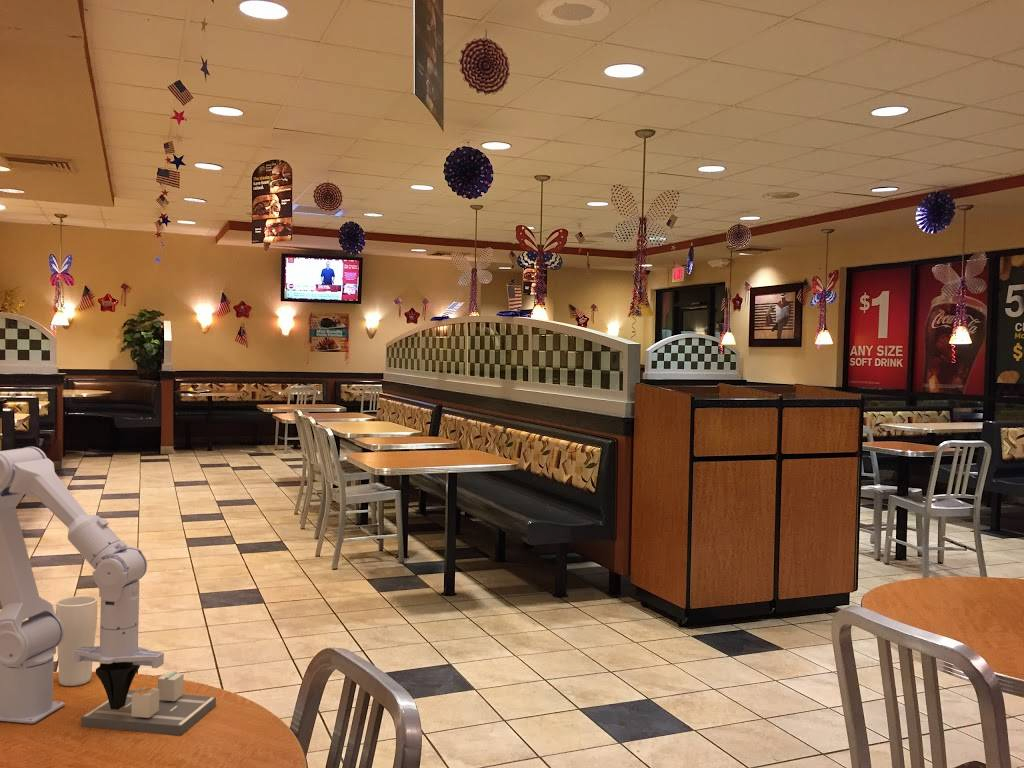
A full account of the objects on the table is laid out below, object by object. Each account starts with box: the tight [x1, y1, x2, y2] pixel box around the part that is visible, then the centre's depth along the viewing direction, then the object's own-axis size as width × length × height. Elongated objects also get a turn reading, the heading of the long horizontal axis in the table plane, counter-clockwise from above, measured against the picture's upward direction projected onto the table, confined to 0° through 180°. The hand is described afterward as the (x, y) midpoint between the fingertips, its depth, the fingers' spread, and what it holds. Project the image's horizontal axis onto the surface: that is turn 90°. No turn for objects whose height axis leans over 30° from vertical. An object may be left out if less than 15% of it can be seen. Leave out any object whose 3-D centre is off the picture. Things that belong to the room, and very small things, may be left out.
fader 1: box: [131, 685, 159, 718], centre depth 139 cm, size 3×3×4 cm
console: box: [80, 689, 217, 736], centre depth 142 cm, size 17×12×2 cm
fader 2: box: [157, 671, 185, 701], centre depth 146 cm, size 3×3×4 cm
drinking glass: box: [55, 595, 98, 687], centre depth 156 cm, size 7×7×15 cm
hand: (117, 707), depth 139 cm, fingers closed
